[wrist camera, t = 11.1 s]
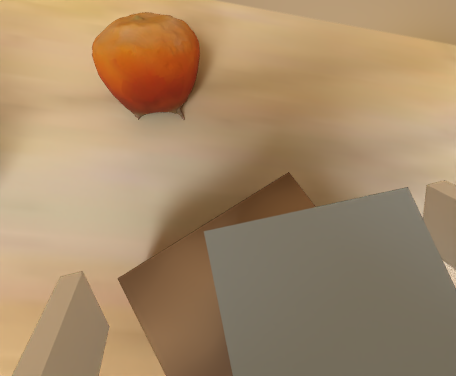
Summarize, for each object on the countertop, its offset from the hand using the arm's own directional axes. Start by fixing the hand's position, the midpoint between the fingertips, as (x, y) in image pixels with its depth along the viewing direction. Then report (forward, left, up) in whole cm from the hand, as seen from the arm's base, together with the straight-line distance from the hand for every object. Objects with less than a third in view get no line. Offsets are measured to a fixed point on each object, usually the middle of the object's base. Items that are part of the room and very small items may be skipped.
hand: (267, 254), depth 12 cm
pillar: (+2, 0, -6) cm, 7 cm away
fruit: (-18, 0, -11) cm, 21 cm away
